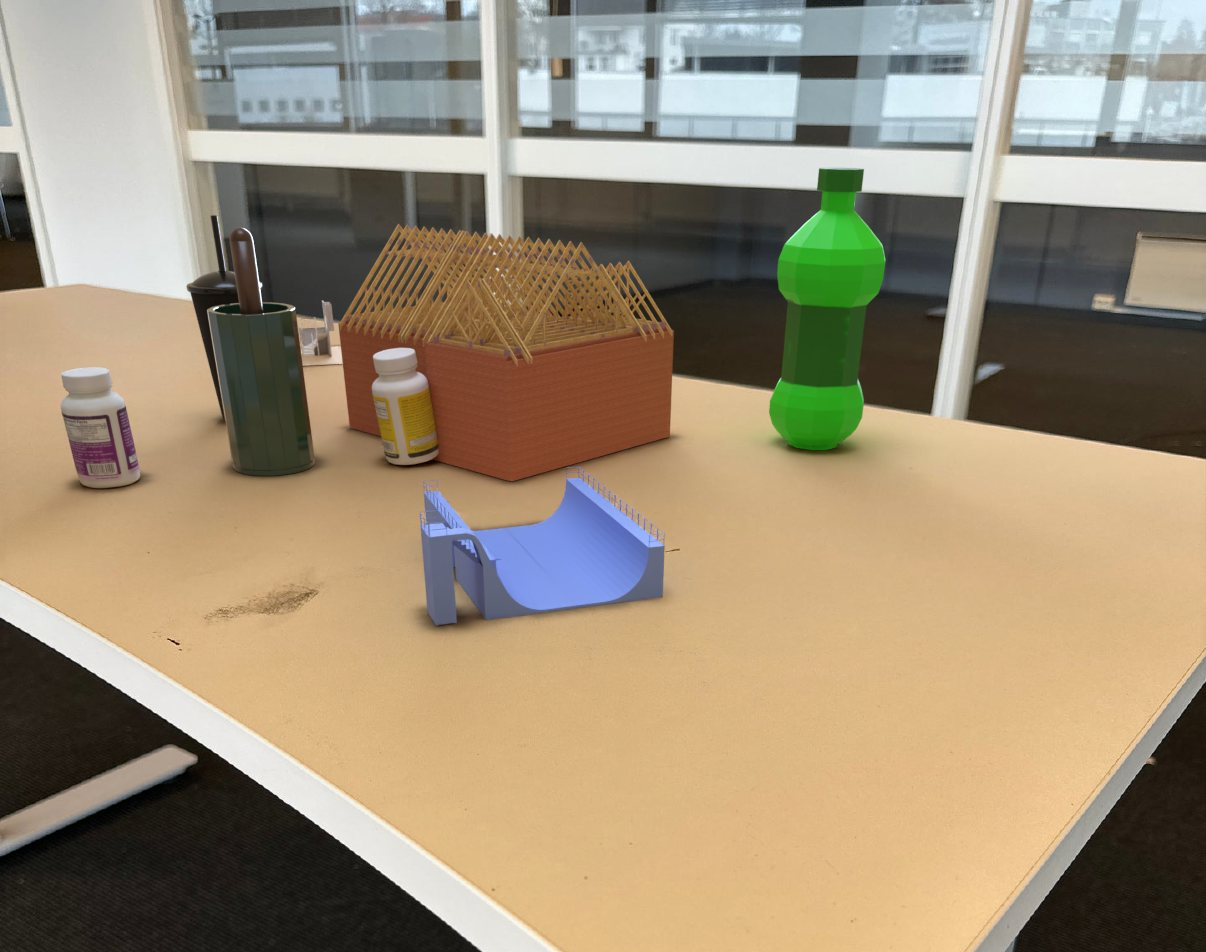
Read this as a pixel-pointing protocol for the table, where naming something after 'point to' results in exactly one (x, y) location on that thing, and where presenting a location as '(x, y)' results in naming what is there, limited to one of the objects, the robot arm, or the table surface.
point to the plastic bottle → (826, 316)
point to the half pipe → (540, 558)
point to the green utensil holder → (262, 388)
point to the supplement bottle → (404, 408)
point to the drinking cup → (213, 301)
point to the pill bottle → (98, 429)
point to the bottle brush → (246, 271)
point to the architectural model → (319, 341)
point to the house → (514, 353)
